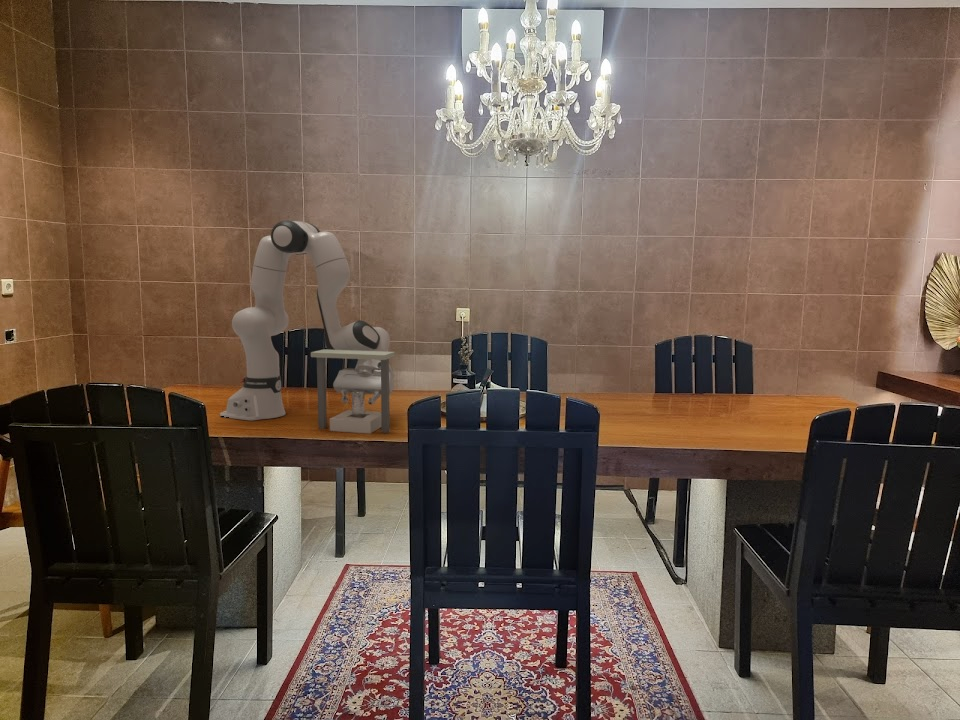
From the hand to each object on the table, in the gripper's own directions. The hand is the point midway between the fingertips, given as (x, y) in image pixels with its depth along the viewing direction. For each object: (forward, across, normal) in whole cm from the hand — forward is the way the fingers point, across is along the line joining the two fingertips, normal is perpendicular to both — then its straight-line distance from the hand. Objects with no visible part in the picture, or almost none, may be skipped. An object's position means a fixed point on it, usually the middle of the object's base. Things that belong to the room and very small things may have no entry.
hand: (357, 402), depth 211 cm
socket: (+6, 0, +6) cm, 8 cm away
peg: (+6, 0, +6) cm, 8 cm away
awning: (+8, 0, +4) cm, 9 cm away
